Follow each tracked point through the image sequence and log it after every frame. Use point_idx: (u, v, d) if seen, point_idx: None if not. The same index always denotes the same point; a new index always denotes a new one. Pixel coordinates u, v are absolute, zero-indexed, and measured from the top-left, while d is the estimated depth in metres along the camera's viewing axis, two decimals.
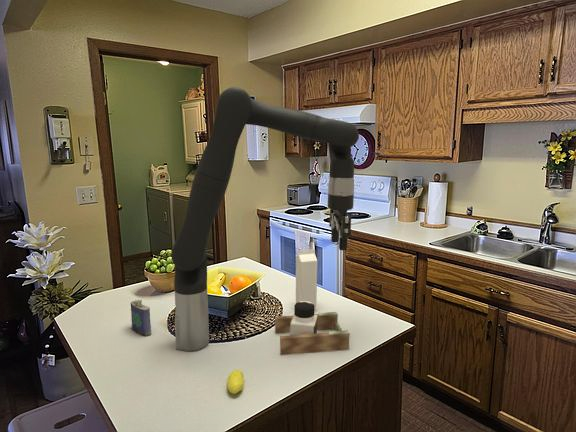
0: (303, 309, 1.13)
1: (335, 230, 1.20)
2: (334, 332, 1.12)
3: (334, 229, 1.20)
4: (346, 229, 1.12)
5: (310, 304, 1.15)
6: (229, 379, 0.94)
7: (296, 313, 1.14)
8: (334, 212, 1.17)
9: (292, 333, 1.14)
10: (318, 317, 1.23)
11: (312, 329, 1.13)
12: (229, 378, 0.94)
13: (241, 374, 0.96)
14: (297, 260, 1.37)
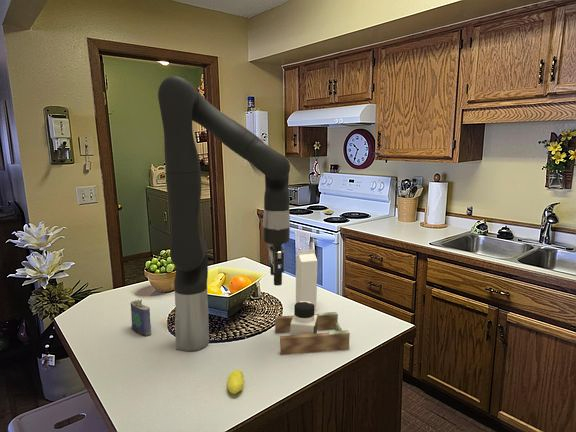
0: (303, 309, 1.13)
1: None
2: (334, 332, 1.12)
3: None
4: (281, 264, 1.08)
5: (310, 304, 1.15)
6: (229, 379, 0.94)
7: (296, 313, 1.14)
8: (271, 244, 1.13)
9: (292, 333, 1.14)
10: (318, 317, 1.23)
11: (312, 329, 1.13)
12: (229, 378, 0.94)
13: (241, 374, 0.96)
14: (297, 260, 1.37)
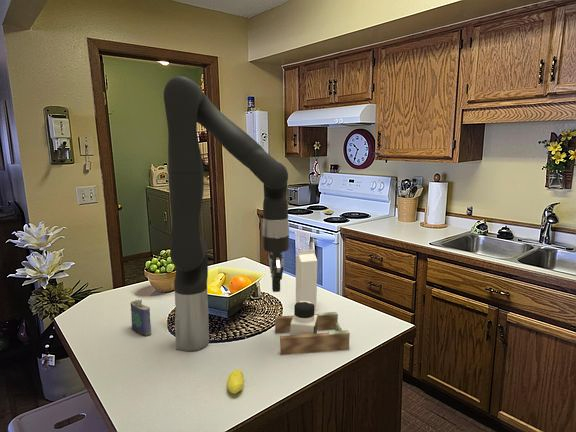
0: (303, 309, 1.13)
1: None
2: (334, 332, 1.12)
3: None
4: None
5: (310, 304, 1.15)
6: (229, 379, 0.94)
7: (296, 313, 1.14)
8: None
9: (292, 333, 1.14)
10: (318, 317, 1.23)
11: (312, 329, 1.13)
12: (229, 378, 0.94)
13: (241, 374, 0.96)
14: (297, 260, 1.37)
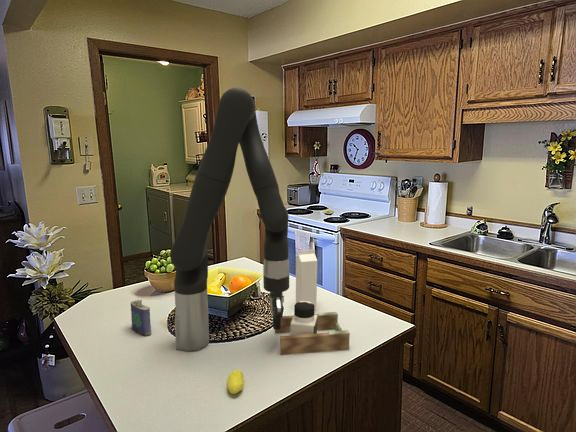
0: (303, 309, 1.13)
1: None
2: (334, 332, 1.12)
3: None
4: None
5: (310, 304, 1.15)
6: (229, 379, 0.94)
7: (296, 313, 1.14)
8: None
9: (292, 333, 1.14)
10: (318, 317, 1.23)
11: (312, 329, 1.13)
12: (229, 378, 0.94)
13: (241, 374, 0.96)
14: (297, 260, 1.37)
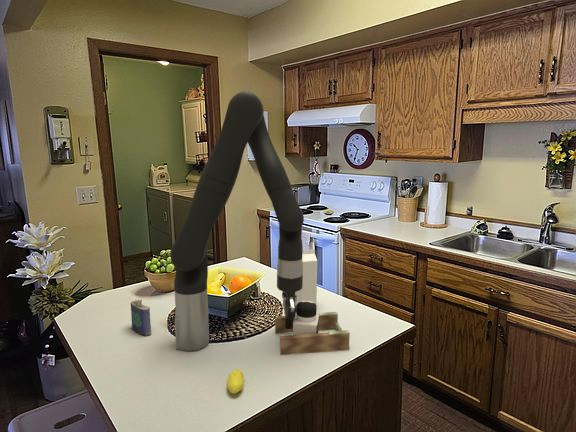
0: (306, 309, 1.13)
1: None
2: (334, 332, 1.12)
3: None
4: None
5: (312, 303, 1.15)
6: (229, 379, 0.94)
7: (298, 313, 1.14)
8: None
9: (295, 333, 1.14)
10: None
11: (315, 328, 1.13)
12: (229, 378, 0.94)
13: (241, 374, 0.96)
14: None
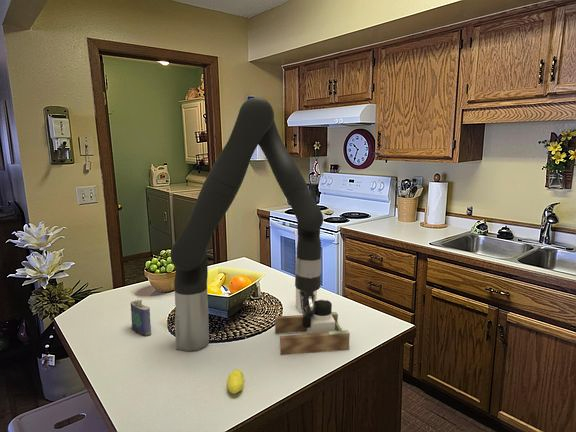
0: (324, 307, 1.14)
1: None
2: (334, 332, 1.12)
3: None
4: None
5: (327, 301, 1.17)
6: (229, 379, 0.94)
7: (316, 312, 1.15)
8: None
9: (314, 332, 1.15)
10: None
11: (333, 325, 1.15)
12: (229, 378, 0.94)
13: (241, 374, 0.96)
14: None
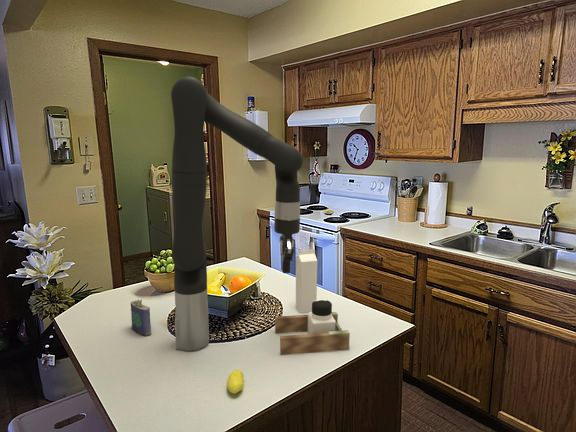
0: (325, 307, 1.14)
1: None
2: (334, 332, 1.12)
3: None
4: None
5: (327, 301, 1.17)
6: (229, 379, 0.94)
7: (317, 312, 1.15)
8: None
9: (314, 333, 1.15)
10: None
11: (334, 325, 1.15)
12: (229, 378, 0.94)
13: (241, 374, 0.96)
14: (297, 260, 1.37)
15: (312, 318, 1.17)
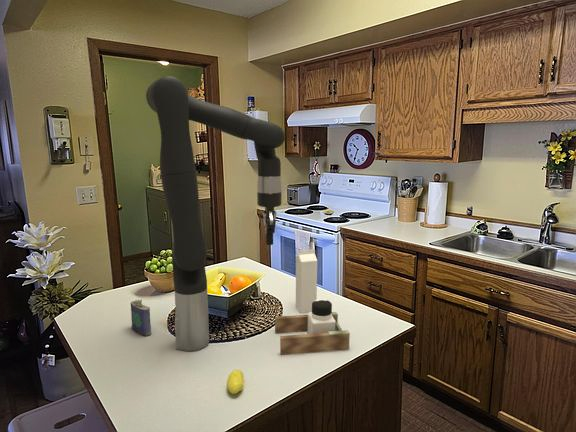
0: (325, 307, 1.14)
1: None
2: (334, 332, 1.12)
3: None
4: None
5: (327, 301, 1.17)
6: (229, 379, 0.94)
7: (317, 312, 1.15)
8: (265, 207, 1.24)
9: (314, 333, 1.15)
10: None
11: (334, 325, 1.15)
12: (229, 378, 0.94)
13: (241, 374, 0.96)
14: (297, 260, 1.37)
15: (312, 318, 1.17)
